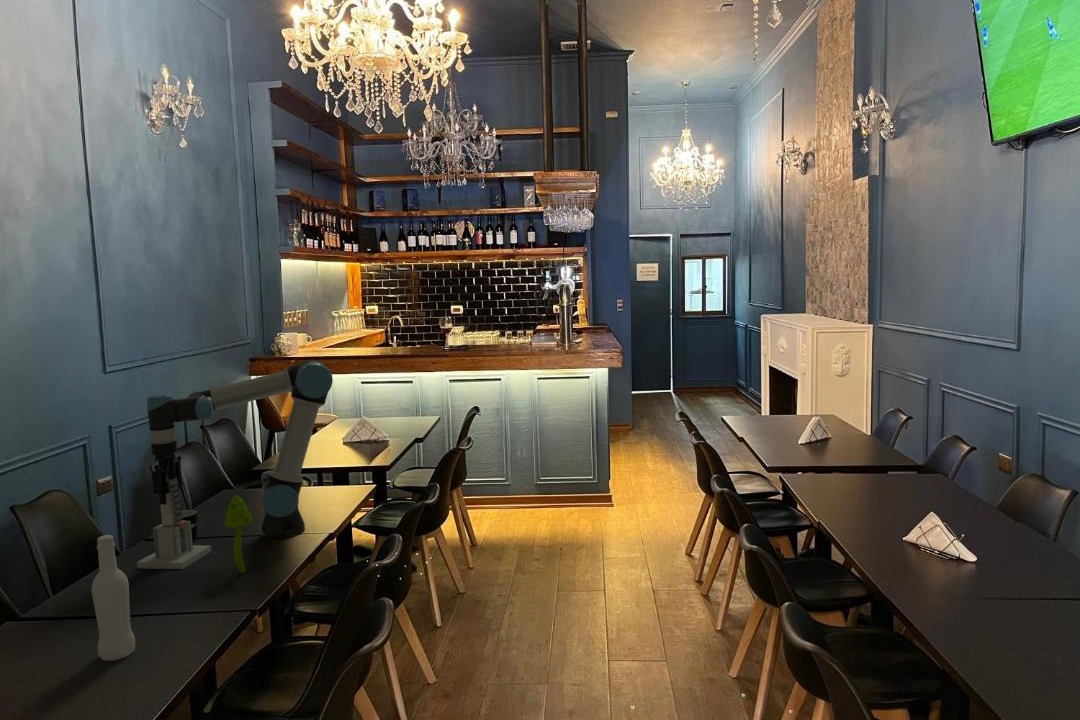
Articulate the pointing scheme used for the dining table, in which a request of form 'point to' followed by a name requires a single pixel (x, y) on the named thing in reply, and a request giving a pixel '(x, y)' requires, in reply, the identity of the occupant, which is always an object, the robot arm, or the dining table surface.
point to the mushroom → (238, 526)
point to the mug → (191, 521)
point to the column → (173, 507)
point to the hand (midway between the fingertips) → (170, 511)
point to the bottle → (112, 605)
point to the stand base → (173, 548)
